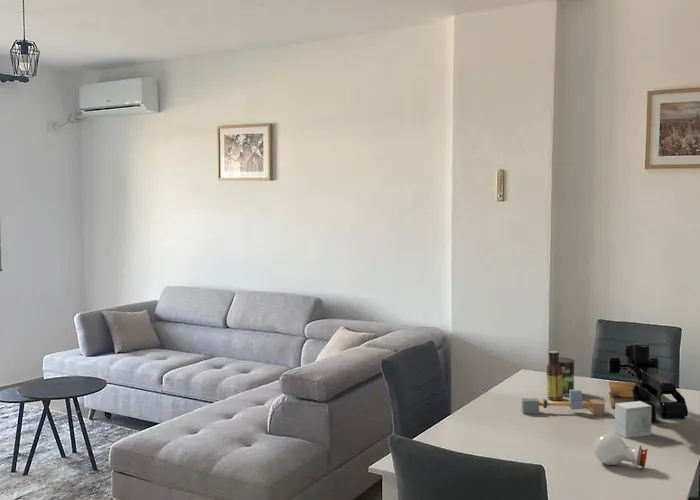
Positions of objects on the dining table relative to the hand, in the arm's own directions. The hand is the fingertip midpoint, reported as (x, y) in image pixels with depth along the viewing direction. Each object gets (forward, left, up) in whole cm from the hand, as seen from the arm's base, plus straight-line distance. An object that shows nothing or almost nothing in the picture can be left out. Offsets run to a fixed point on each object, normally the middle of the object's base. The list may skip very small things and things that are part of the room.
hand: (626, 360), depth 274 cm
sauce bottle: (+2, +28, -17) cm, 33 cm away
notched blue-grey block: (-17, +24, -15) cm, 33 cm away
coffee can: (+13, +23, -17) cm, 31 cm away
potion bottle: (-71, +23, -17) cm, 77 cm away
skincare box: (-41, +10, -17) cm, 46 cm away
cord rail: (-17, +28, -17) cm, 37 cm away
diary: (-1, -3, -17) cm, 18 cm away
